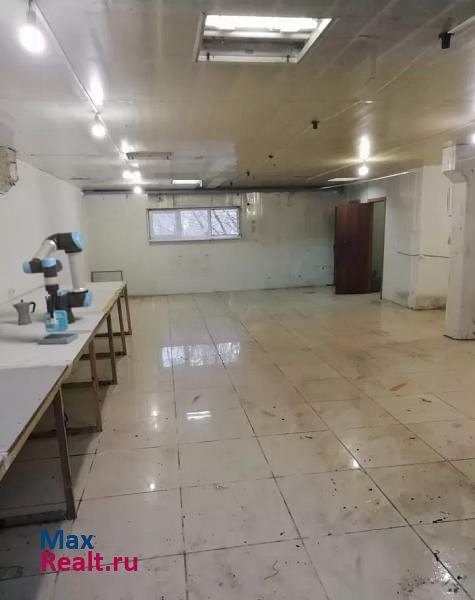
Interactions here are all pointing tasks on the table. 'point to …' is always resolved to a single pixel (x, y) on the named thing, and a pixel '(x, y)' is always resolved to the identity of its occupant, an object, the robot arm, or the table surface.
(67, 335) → the tray
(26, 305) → the coffeepot
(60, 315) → the data package
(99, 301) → the table surface
